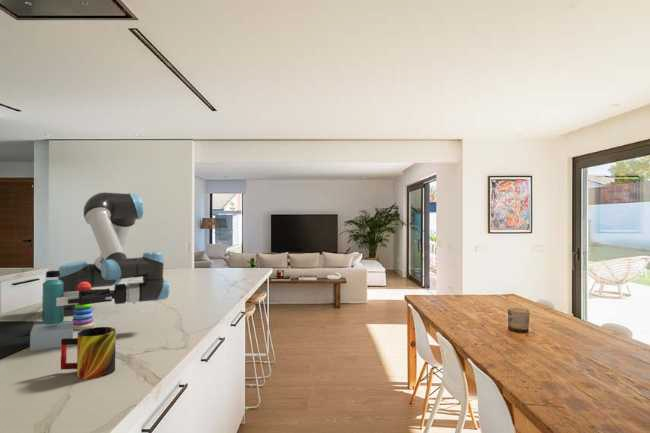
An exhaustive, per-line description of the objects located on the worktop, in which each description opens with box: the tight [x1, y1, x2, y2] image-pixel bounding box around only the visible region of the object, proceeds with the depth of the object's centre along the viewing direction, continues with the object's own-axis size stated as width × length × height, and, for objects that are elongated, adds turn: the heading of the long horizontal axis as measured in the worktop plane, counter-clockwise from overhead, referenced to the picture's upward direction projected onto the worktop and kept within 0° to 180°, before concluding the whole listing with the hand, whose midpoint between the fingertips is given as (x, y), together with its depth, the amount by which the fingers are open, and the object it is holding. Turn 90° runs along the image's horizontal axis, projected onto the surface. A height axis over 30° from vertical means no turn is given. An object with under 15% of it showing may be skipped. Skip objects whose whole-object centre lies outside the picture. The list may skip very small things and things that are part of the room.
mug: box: [60, 326, 117, 380], centre depth 114 cm, size 10×14×12 cm
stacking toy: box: [71, 282, 95, 331], centre depth 161 cm, size 8×8×19 cm
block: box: [29, 320, 74, 352], centre depth 141 cm, size 12×12×6 cm
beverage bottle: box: [41, 270, 65, 325], centre depth 141 cm, size 6×7×20 cm
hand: (57, 299), depth 141 cm, fingers open, 10 cm apart
